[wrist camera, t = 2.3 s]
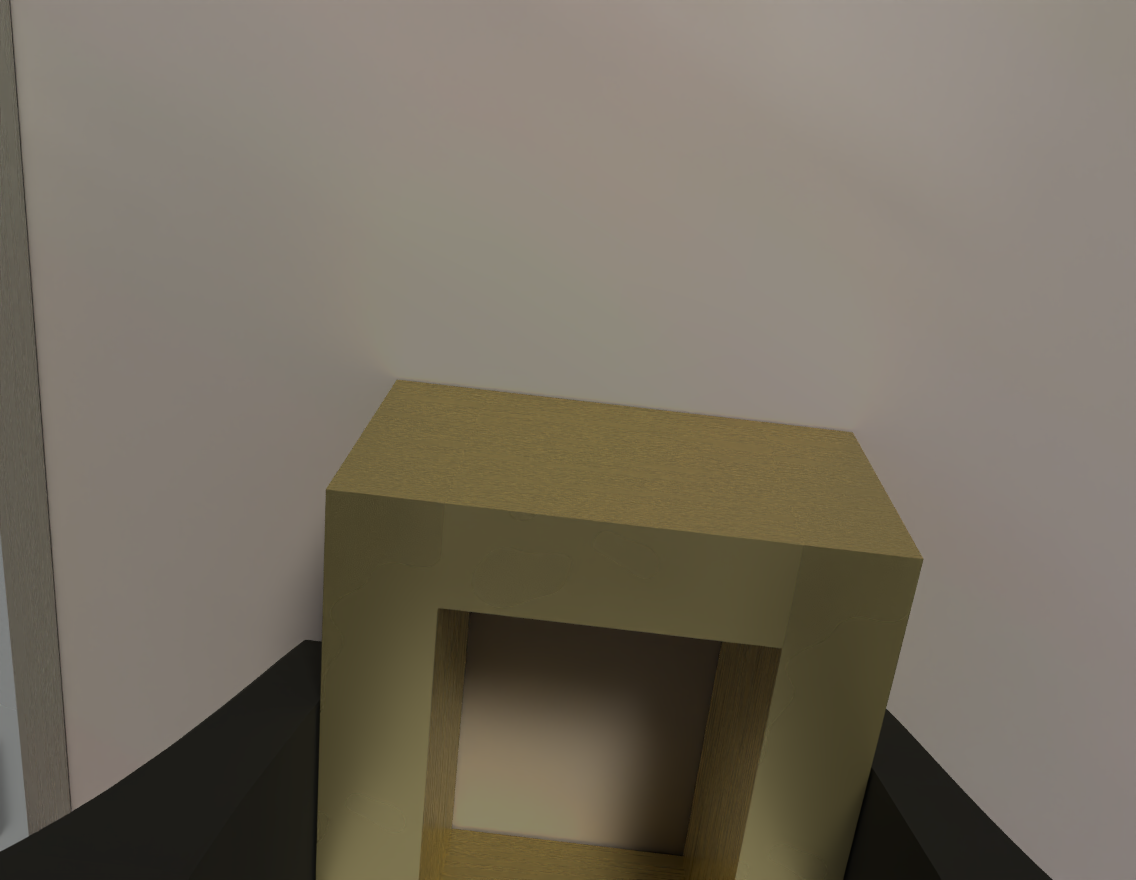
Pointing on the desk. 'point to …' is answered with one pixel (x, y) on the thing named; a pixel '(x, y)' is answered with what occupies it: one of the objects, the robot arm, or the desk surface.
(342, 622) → the link
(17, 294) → the keeper plate
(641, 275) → the desk surface
